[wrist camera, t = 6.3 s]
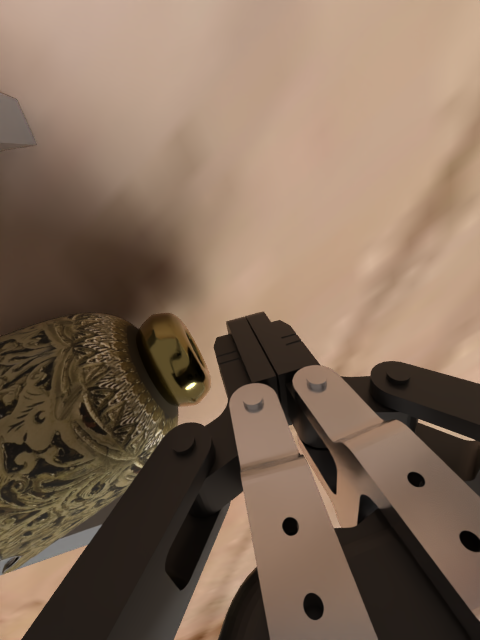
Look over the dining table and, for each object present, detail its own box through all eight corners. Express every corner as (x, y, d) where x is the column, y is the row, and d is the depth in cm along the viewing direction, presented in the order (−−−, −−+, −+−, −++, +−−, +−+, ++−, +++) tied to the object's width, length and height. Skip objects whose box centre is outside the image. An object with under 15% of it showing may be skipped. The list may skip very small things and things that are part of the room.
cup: (256, 463, 12) (69, 569, 11) (197, 333, 16) (62, 403, 16) (189, 389, 6) (-214, 602, 5) (127, 219, 10) (-93, 322, 10)
